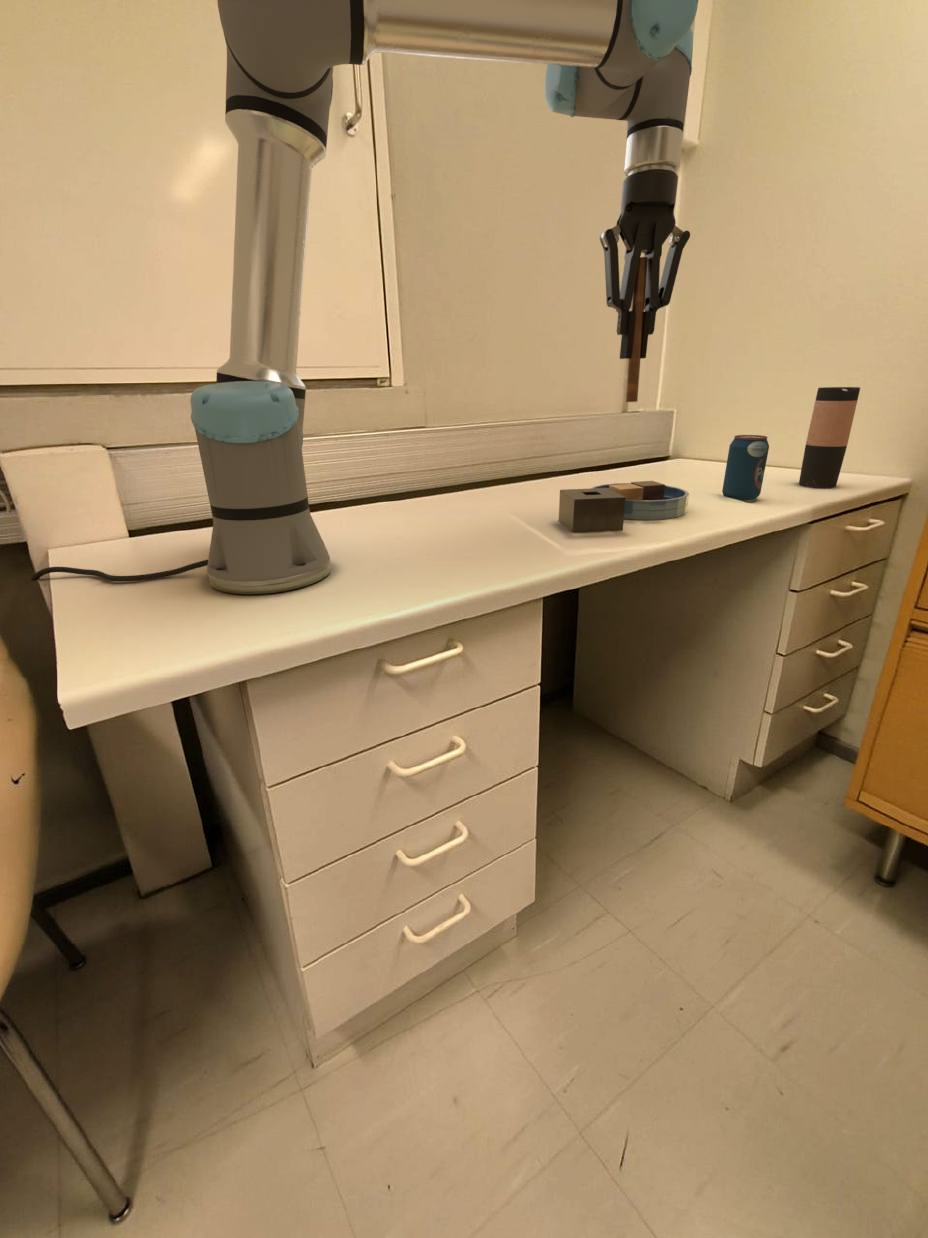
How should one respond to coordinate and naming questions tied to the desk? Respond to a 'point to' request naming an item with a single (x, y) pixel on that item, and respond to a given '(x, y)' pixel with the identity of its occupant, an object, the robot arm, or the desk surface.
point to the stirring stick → (637, 331)
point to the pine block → (628, 491)
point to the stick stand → (591, 510)
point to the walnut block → (651, 490)
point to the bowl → (656, 505)
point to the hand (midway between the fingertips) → (632, 358)
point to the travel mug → (828, 436)
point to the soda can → (745, 467)
